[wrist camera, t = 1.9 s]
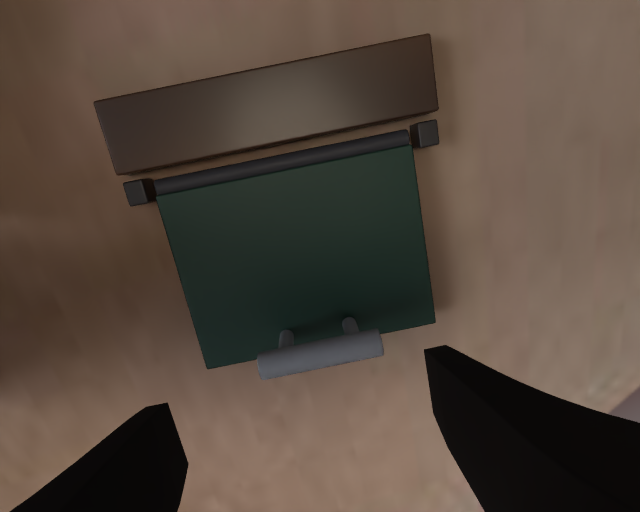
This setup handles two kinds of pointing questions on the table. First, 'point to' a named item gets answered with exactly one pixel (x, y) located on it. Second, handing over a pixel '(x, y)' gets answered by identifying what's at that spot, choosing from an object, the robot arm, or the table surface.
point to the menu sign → (301, 254)
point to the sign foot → (270, 108)
